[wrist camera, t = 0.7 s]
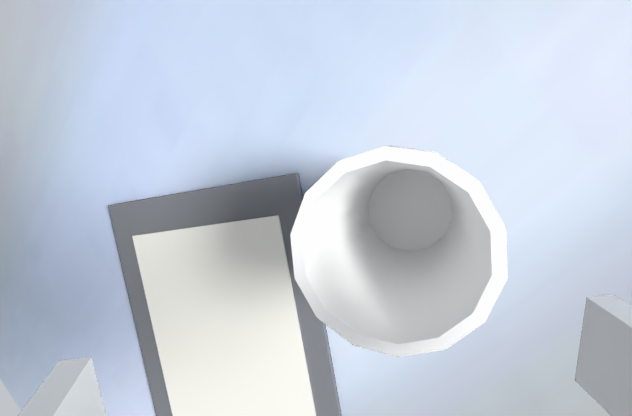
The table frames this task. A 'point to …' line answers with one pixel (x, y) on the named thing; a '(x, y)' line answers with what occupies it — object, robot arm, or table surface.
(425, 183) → the foam cup
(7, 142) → the table surface
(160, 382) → the picture frame
